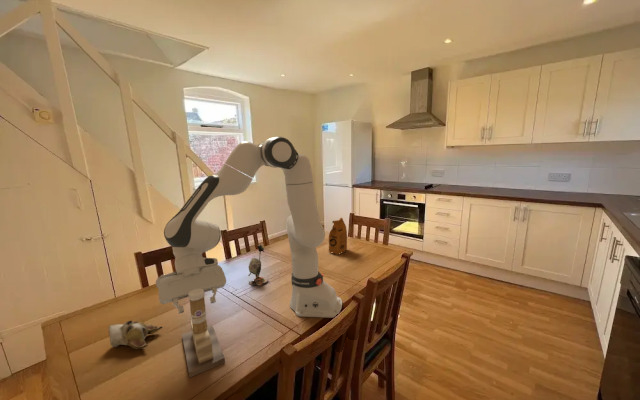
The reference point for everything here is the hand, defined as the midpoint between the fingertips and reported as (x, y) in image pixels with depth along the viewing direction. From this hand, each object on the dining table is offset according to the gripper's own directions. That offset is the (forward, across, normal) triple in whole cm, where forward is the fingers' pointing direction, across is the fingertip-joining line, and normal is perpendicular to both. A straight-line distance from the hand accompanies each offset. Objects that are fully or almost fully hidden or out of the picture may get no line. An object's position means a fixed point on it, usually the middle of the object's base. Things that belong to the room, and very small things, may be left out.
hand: (197, 307), depth 82 cm
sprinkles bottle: (+6, 0, +6) cm, 8 cm away
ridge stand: (+11, 0, +12) cm, 16 cm away
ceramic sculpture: (-1, -19, +24) cm, 31 cm away
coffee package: (-20, +90, +42) cm, 102 cm away
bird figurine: (-13, +31, +36) cm, 49 cm away
